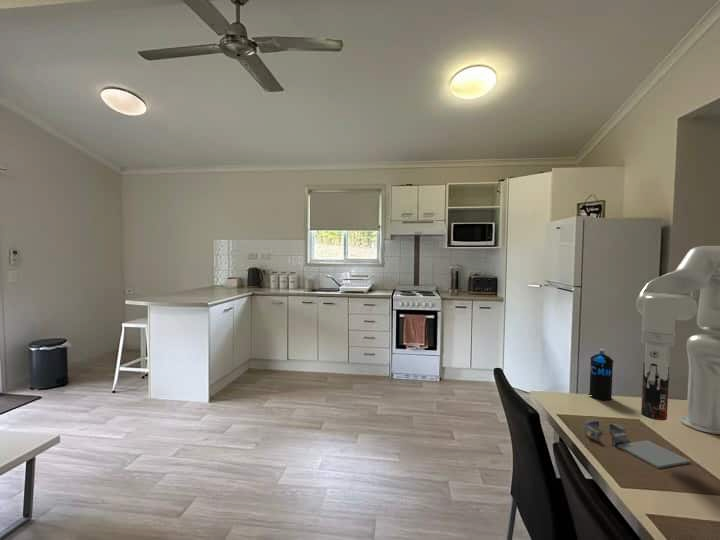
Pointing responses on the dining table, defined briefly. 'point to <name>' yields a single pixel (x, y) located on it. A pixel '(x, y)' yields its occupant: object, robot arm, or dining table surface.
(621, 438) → the collar
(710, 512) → the dining table surface
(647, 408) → the deodorant
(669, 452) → the coaster
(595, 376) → the aerosol can
